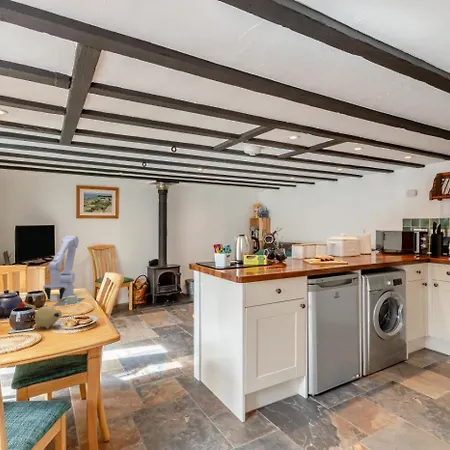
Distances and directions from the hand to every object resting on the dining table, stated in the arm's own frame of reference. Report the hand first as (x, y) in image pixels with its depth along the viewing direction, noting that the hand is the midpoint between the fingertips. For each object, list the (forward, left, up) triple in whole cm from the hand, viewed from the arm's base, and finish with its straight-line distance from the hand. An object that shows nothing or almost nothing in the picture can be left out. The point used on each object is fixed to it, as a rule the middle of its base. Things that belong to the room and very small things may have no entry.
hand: (55, 299), depth 213 cm
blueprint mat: (+4, +11, -1) cm, 12 cm away
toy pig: (+56, +20, -2) cm, 59 cm away
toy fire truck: (+44, +6, -2) cm, 44 cm away
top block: (0, 0, -2) cm, 2 cm away
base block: (+8, +14, -1) cm, 16 cm away
